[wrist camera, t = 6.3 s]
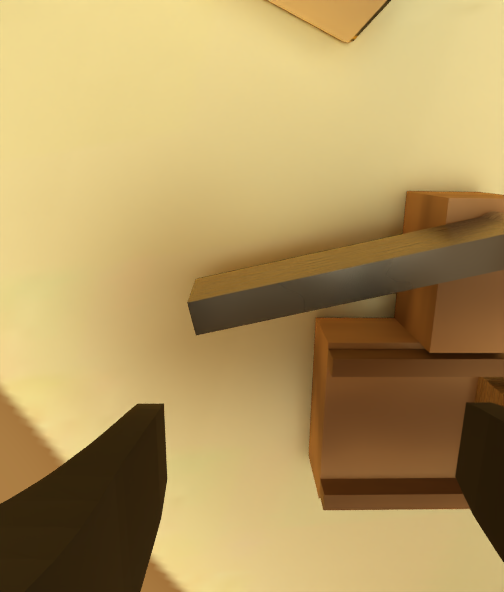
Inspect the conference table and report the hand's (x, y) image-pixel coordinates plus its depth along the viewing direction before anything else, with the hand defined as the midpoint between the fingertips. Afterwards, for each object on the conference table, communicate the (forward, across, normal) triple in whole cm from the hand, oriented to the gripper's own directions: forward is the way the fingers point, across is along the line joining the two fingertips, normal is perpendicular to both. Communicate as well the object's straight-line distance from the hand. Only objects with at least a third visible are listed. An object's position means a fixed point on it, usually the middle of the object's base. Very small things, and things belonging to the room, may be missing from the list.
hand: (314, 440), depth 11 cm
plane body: (+10, -10, +1) cm, 14 cm away
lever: (+6, -2, -3) cm, 7 cm away
